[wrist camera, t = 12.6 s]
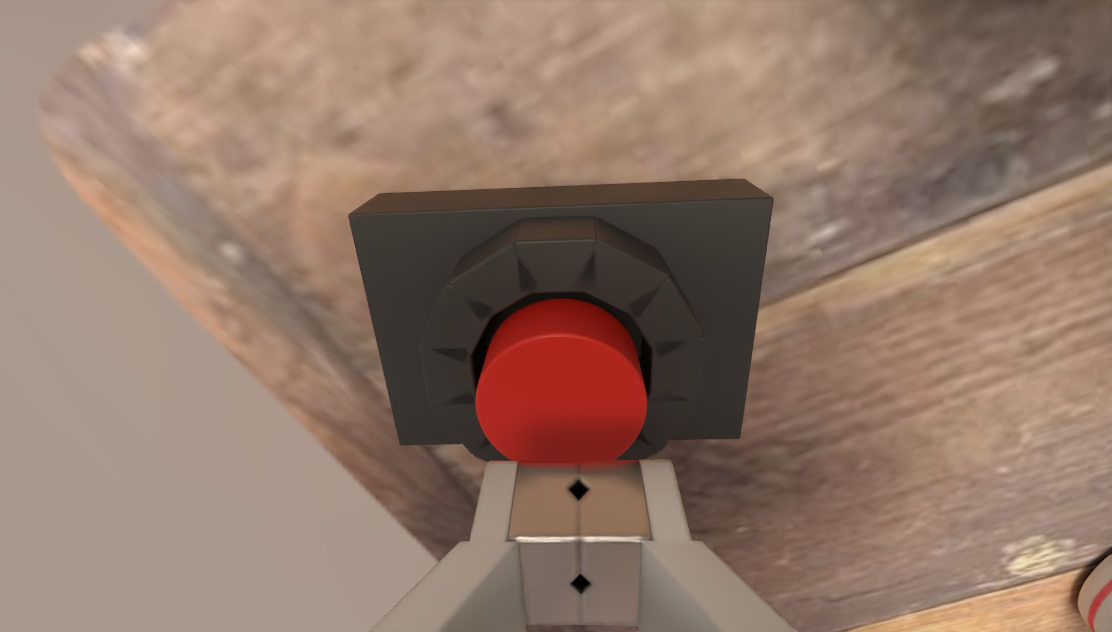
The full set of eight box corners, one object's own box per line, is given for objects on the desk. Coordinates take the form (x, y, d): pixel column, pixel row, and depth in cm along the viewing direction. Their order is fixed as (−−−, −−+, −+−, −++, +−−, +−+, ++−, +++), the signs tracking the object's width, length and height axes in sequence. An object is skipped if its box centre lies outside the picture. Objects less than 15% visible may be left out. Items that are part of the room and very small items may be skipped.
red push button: (418, 402, 17) (379, 491, 14) (378, 193, 14) (312, 236, 11) (720, 395, 17) (761, 484, 13) (745, 178, 14) (806, 218, 10)
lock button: (494, 427, 13) (484, 477, 12) (479, 299, 12) (464, 336, 10) (636, 425, 13) (645, 474, 11) (639, 294, 11) (650, 331, 10)
